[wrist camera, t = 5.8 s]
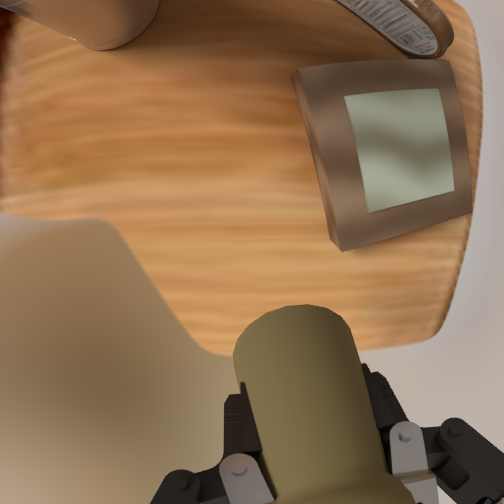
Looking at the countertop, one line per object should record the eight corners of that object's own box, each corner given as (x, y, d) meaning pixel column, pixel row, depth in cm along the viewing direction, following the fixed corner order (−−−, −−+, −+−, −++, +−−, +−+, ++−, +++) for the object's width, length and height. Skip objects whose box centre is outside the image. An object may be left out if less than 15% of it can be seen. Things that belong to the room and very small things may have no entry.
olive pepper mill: (268, 408, 15) (291, 587, 5) (208, 340, 13) (192, 589, 3) (365, 364, 14) (445, 538, 4) (327, 280, 12) (458, 532, 2)
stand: (291, 77, 23) (300, 66, 19) (429, 65, 22) (451, 60, 18) (330, 239, 29) (343, 253, 25) (452, 204, 28) (474, 213, 24)
